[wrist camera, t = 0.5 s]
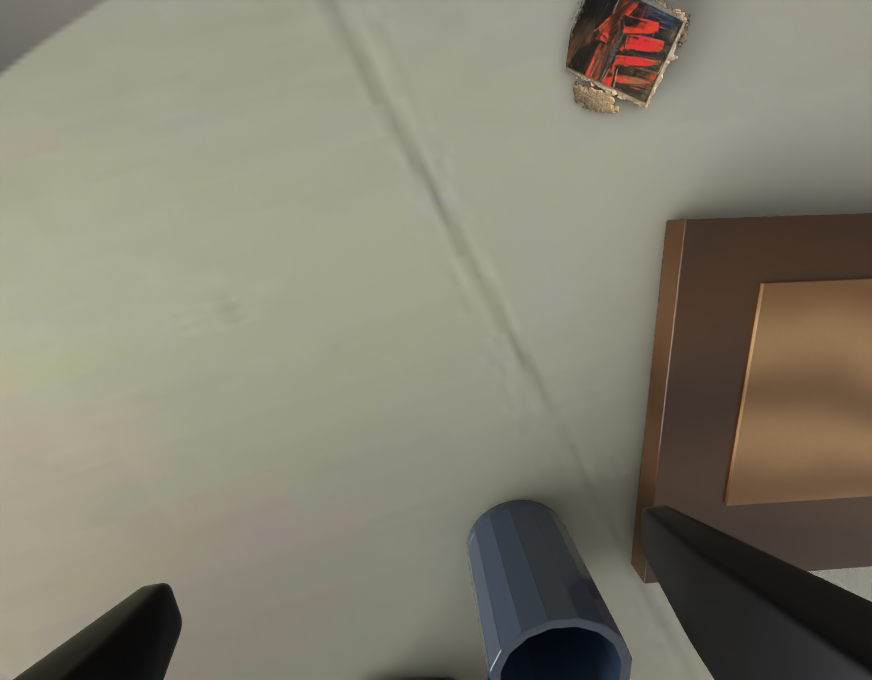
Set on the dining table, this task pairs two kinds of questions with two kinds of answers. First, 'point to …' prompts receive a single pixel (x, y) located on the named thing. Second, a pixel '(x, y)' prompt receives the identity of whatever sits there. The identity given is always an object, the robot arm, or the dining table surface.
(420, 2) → the dining table surface
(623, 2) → the painted stone tile
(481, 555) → the cup
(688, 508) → the desk board
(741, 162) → the dining table surface
